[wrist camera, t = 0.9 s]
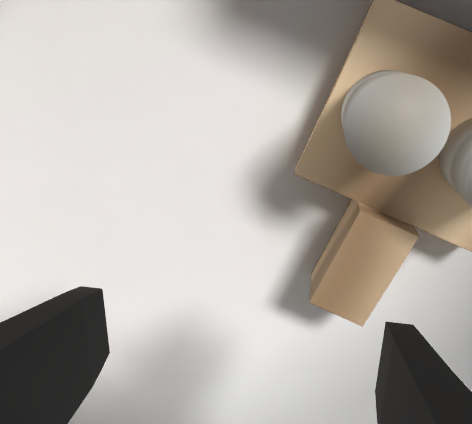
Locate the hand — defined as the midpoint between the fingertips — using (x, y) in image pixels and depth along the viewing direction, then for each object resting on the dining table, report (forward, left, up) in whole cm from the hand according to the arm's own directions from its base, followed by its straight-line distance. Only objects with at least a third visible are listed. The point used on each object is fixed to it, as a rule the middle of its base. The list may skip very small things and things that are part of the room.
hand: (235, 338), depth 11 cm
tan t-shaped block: (-4, -3, -10) cm, 11 cm away
